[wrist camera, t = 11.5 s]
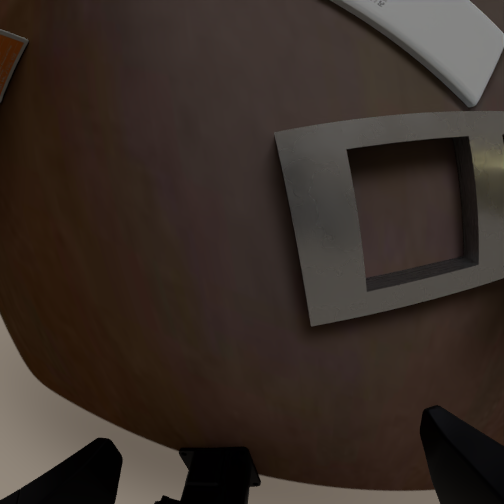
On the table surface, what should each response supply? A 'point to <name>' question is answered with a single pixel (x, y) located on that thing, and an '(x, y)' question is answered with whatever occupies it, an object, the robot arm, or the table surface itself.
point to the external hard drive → (439, 38)
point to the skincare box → (9, 56)
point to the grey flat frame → (346, 217)
